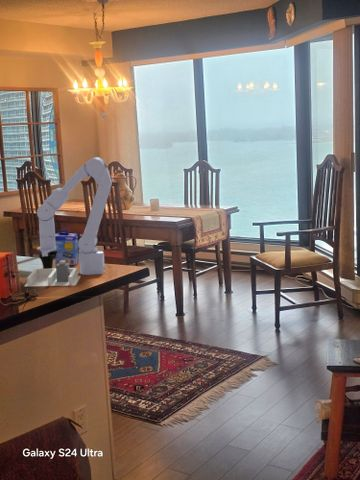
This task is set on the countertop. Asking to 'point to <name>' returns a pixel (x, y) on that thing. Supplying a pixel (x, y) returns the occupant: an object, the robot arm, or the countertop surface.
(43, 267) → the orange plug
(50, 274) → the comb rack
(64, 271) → the charcoal plug
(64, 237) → the ink cartridge box
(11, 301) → the countertop surface
